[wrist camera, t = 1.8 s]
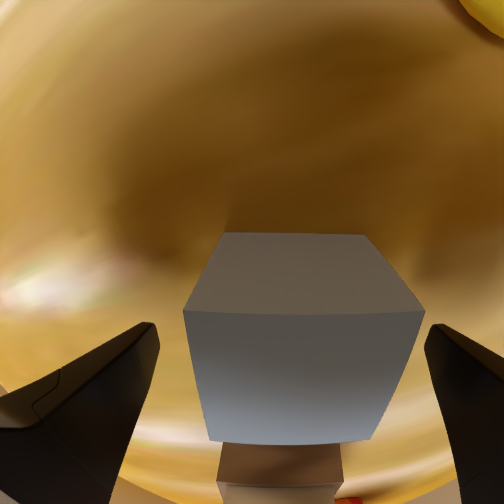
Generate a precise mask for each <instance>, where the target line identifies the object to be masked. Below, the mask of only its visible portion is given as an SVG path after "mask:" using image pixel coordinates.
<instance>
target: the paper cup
mask: <svg viewBox="0 0 504 504" xmlns="http://www.w3.org/2000/svg"><path fill="white" fill-rule="evenodd" d="M335 504H363V503H362V500H361V499H360V498H342V499H335Z"/></svg>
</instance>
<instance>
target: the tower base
mask: <svg viewBox="0 0 504 504" xmlns="http://www.w3.org/2000/svg"><path fill="white" fill-rule="evenodd" d="M216 482H217V485H218V488H219V490H220V493H221V496H222V499H223V504H335V500H334V495H335V493H336V492H337V491H338V489H339V488H340V486H341V485H342V484H343V482H344V478H343V469H342V461H341V453H340V446H339V443H330V444H312V445H260V444H242V443H230V442H223V446H222V452H221V457H220V463H219V469H218V474H217V480H216Z"/></svg>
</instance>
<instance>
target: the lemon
mask: <svg viewBox="0 0 504 504" xmlns="http://www.w3.org/2000/svg"><path fill="white" fill-rule="evenodd" d="M459 1H460V2H461V4H462V5H463V6H464V8H465V9H466V10H467V12H468V13H469V15H471V16H472V17H473V18H475V19H476V20H477V21H478V22H480V23H481V24H482V25H484V26H485V27H486V28H487V29H488V30H489V31H490V32H492V33H494V34H496V35H498V36H499V37H501V38H503V39H504V0H459Z"/></svg>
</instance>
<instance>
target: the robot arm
mask: <svg viewBox="0 0 504 504" xmlns="http://www.w3.org/2000/svg"><path fill="white" fill-rule="evenodd" d="M159 351H160V341H159V337H158V333H157V329H156V326H155V324H154V323H151V322H141V323H139V324H137V325H136V326H134V327H132V328H130V329H129V330H127V331H125V332H123V333H122V334H120V335H118V336H116V337H115V338H113V339H111V340H109V341H107V342H106V343H104V344H102V345H100V346H99V347H97V348H95V349H93V350H91V351H90V352H88V353H86V354H84V355H83V356H81V357H79V358H77V359H75V360H74V361H72V362H70V363H68V364H67V365H65V366H63V367H61V369H60V368H59V369H57V370H56V371H54V372H52V373H50V374H48V375H47V376H45V377H43V378H41V379H39V380H37V381H35V382H33V383H31V384H28V385H26V386H24V387H22V388H19V389H17V390H15V391H13V392H10V393H8V394H6V395H3V396H2V397H0V504H109V501H110V498H111V494H112V491H113V488H114V485H115V482H116V479H117V476H118V473H119V470H120V468H121V465H122V462H123V459H124V456H125V453H126V450H127V447H128V445H129V442H130V439H131V436H132V434H133V431H134V428H135V425H136V423H137V420H138V417H139V415H140V412H141V409H142V407H143V404H144V401H145V399H146V396H147V394H148V391H149V388H150V385H151V381H152V377H153V373H154V369H155V365H156V362H157V358H158V354H159ZM424 351H425V355H426V359H427V363H428V367H429V371H430V375H431V380H432V384H433V387H434V391H435V394H436V397H437V400H438V403H439V406H440V410H441V413H442V416H443V420H444V423H445V427H446V430H447V434H448V438H449V442H450V446H451V450H452V454H453V458H454V463H455V468H456V472H457V477H458V483H459V487H460V495H461V502H462V504H504V358H503V357H501V356H499V355H498V354H496V353H494V352H492V351H491V350H489V349H487V348H486V347H484V346H482V345H480V344H479V343H477V342H475V341H473V340H472V339H470V338H468V337H466V336H464V335H463V334H461V333H459V332H457V331H456V330H454V329H452V328H450V327H448V326H447V325H445V324H434V325H432V326H431V328H430V331H429V333H428V336H427V339H426V341H425V345H424Z"/></svg>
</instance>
